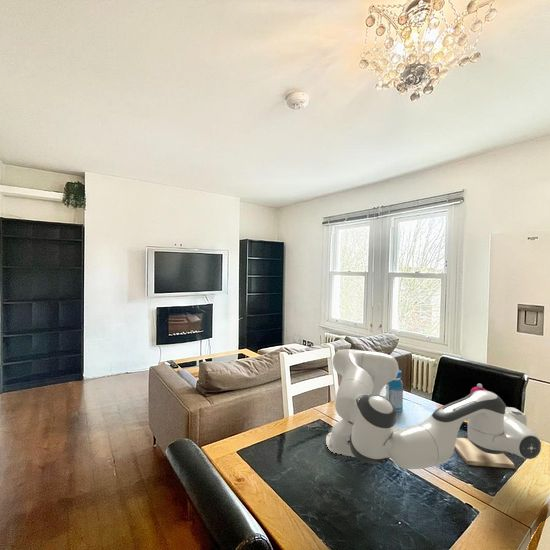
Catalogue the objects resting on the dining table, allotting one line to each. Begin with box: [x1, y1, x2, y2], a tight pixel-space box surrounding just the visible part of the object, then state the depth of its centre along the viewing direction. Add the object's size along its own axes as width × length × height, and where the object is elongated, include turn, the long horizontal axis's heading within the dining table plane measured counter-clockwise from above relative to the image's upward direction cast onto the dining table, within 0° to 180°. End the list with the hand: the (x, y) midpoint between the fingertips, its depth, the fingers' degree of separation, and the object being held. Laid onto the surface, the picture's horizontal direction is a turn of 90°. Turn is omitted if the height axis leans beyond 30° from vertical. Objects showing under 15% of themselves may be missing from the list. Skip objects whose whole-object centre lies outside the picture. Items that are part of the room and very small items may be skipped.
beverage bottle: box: [385, 369, 404, 412], centre depth 157 cm, size 8×8×20 cm
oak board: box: [454, 437, 515, 469], centre depth 119 cm, size 16×16×2 cm
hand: (478, 404), depth 119 cm, fingers closed on pepper mill, 5 cm apart
